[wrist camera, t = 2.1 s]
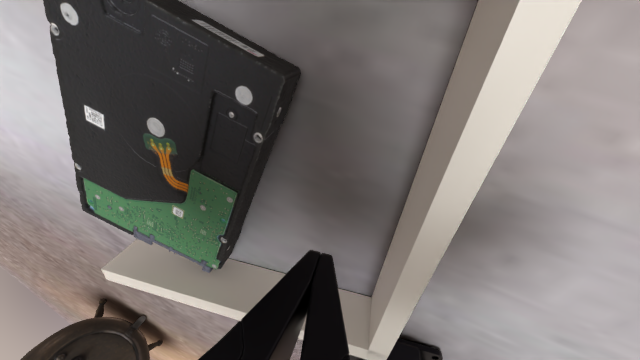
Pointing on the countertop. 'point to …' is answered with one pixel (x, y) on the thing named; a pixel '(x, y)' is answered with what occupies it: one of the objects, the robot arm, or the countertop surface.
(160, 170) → the disk drive
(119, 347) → the alarm clock
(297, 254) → the countertop surface
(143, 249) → the beige bent panel frame
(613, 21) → the countertop surface
